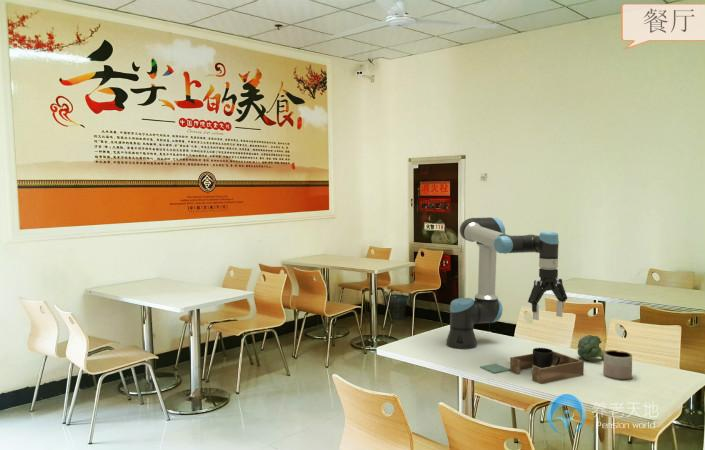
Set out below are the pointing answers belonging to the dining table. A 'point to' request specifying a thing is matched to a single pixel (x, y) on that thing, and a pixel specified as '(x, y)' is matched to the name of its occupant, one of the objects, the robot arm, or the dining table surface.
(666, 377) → the dining table surface
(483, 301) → the robot arm
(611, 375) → the planter
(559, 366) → the wooden tray frame
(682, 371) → the dining table surface
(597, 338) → the vegetable
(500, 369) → the mat
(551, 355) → the mug
